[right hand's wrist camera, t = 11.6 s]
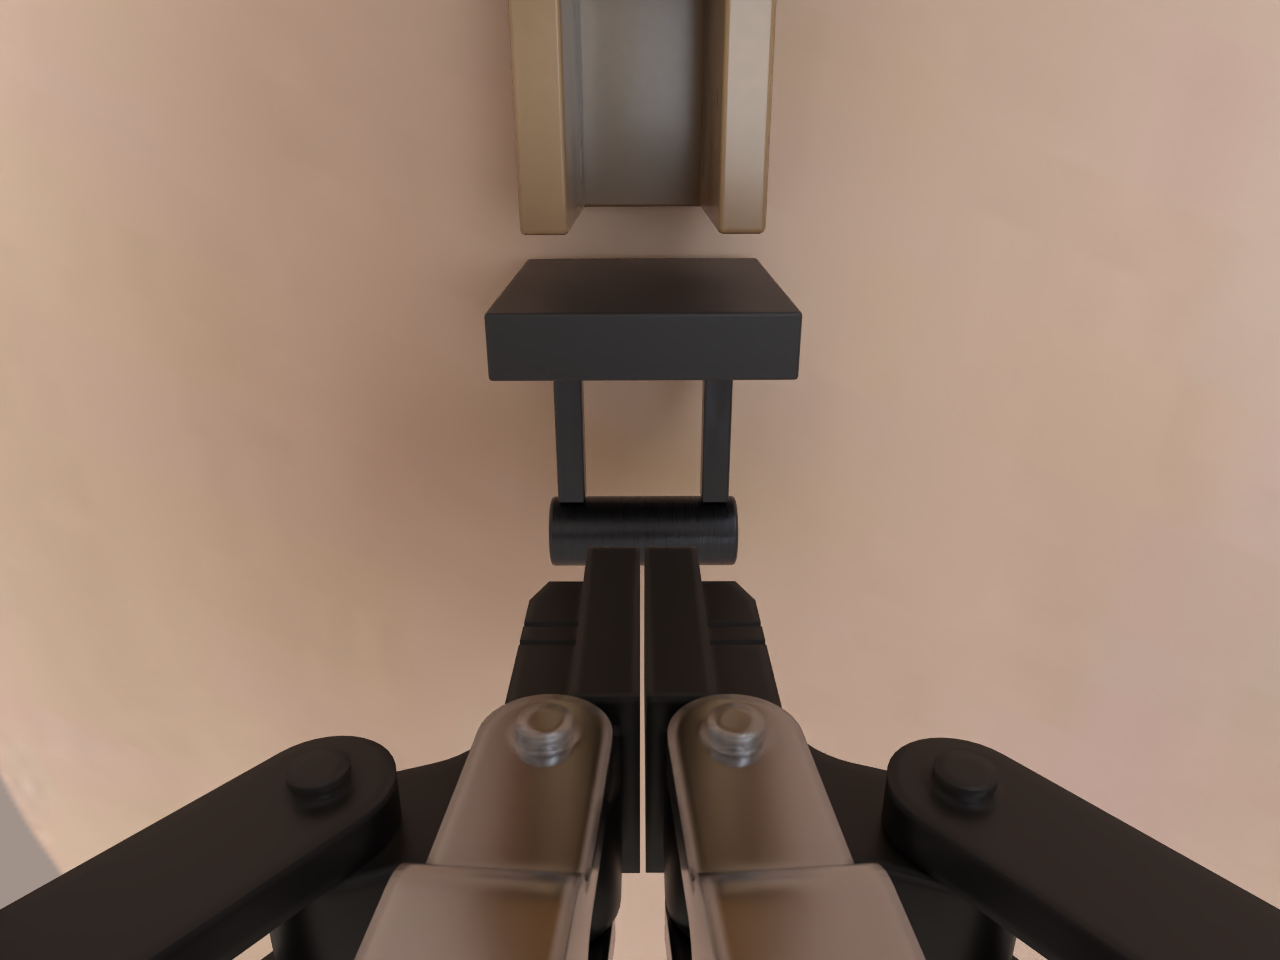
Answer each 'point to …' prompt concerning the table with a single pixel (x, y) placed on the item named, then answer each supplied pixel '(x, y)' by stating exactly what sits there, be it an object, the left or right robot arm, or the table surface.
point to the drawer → (642, 288)
